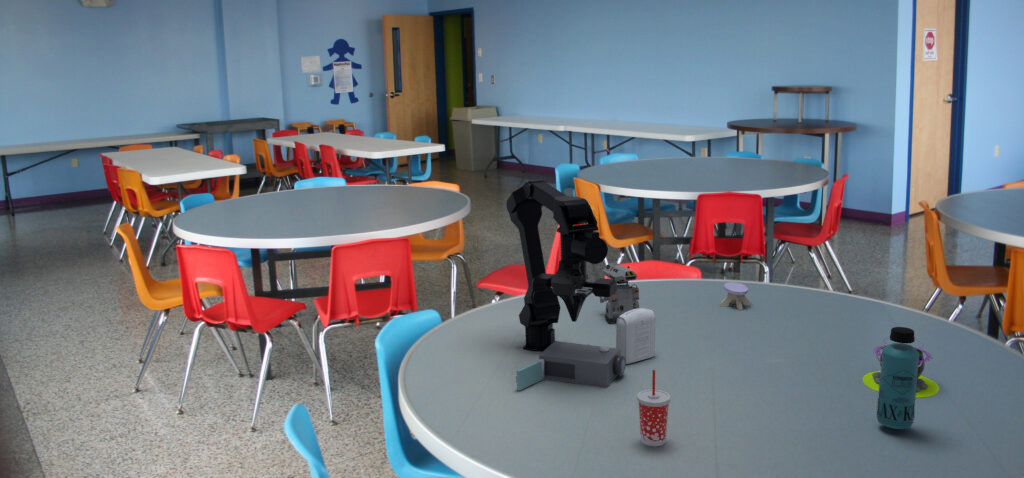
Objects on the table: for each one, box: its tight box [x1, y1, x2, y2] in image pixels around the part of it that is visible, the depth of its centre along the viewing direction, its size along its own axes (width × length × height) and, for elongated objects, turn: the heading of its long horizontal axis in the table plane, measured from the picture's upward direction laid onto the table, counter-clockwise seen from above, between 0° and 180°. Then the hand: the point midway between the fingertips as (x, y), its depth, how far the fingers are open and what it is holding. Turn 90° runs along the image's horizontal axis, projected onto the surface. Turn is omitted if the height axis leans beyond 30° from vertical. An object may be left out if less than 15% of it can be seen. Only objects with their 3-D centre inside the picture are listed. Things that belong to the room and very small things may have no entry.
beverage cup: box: [636, 369, 671, 447], centre depth 149 cm, size 6×6×14 cm
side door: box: [515, 358, 545, 391], centre depth 178 cm, size 9×1×5 cm, turn 138°
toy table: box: [719, 281, 752, 311], centre depth 231 cm, size 10×9×6 cm
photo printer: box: [615, 307, 656, 365], centre depth 191 cm, size 10×4×12 cm, turn 123°
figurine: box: [599, 262, 640, 324], centre depth 222 cm, size 9×12×15 cm
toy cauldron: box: [862, 337, 940, 399], centre depth 172 cm, size 15×15×11 cm
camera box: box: [538, 340, 627, 388], centre depth 183 cm, size 18×10×6 cm, turn 65°
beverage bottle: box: [876, 326, 919, 430], centre depth 150 cm, size 6×7×20 cm
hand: (574, 321), depth 184 cm, fingers closed
